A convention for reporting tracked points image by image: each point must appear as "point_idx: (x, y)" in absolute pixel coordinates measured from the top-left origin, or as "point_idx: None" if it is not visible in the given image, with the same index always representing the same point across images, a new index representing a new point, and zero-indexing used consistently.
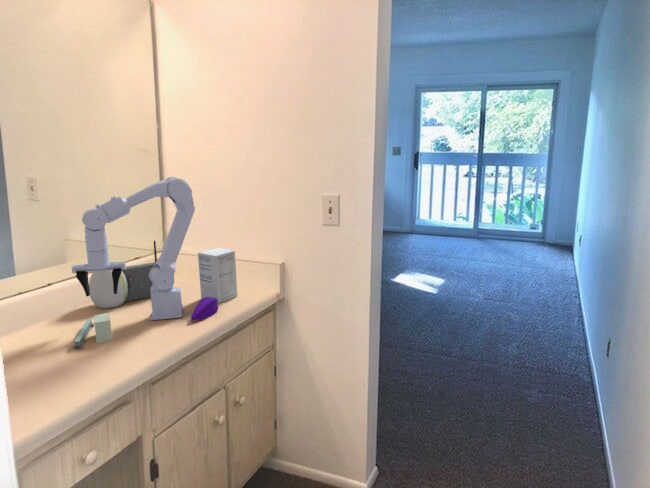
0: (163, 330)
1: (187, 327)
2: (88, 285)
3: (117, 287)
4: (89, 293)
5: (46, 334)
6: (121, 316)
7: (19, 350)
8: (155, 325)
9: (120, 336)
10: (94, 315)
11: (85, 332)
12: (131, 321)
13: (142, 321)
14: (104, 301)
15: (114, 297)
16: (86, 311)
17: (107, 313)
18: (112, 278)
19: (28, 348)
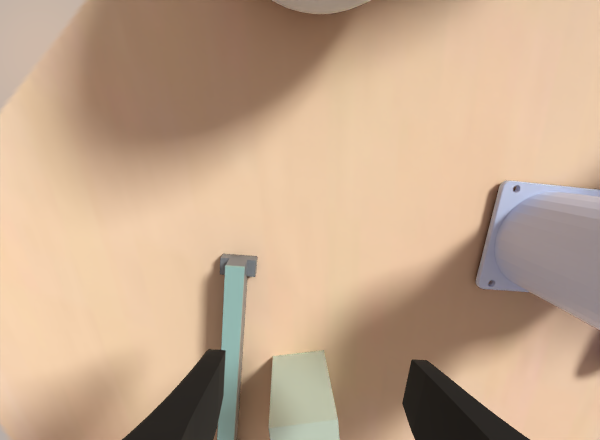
0: (494, 390)
1: (570, 389)
2: (198, 415)
3: (454, 389)
4: (222, 371)
5: (78, 291)
6: (367, 175)
7: (33, 414)
8: (479, 336)
9: (355, 398)
10: (272, 433)
11: (238, 389)
12: (402, 259)
13: (443, 275)
14: (293, 7)
15: (361, 2)
16: (192, 6)
17: (332, 423)
18: None
19: (59, 407)
